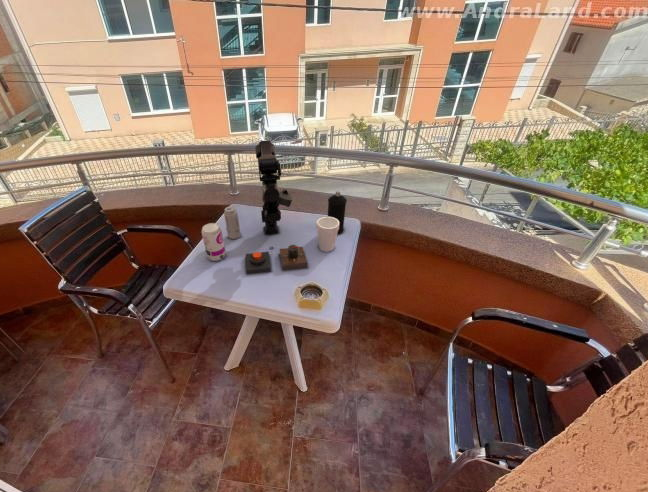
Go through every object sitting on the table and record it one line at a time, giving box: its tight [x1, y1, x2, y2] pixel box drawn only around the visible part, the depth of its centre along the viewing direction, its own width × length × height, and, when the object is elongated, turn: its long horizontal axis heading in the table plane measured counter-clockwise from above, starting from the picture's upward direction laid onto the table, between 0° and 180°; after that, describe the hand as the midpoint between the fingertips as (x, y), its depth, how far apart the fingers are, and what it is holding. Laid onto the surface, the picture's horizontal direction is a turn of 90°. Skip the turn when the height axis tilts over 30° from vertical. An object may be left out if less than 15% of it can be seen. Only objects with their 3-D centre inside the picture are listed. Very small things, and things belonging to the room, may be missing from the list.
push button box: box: [245, 251, 272, 275], centre depth 134 cm, size 11×10×4 cm
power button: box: [253, 251, 262, 260], centre depth 133 cm, size 4×4×2 cm
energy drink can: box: [223, 205, 241, 240], centre depth 148 cm, size 6×6×15 cm
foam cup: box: [316, 216, 339, 253], centre depth 138 cm, size 10×9×13 cm
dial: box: [287, 244, 299, 258], centre depth 133 cm, size 4×4×4 cm
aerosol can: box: [327, 190, 348, 235], centre depth 146 cm, size 8×8×20 cm
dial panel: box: [279, 246, 308, 271], centre depth 135 cm, size 11×10×3 cm
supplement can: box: [201, 222, 227, 262], centre depth 137 cm, size 8×8×15 cm
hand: (272, 223), depth 136 cm, fingers closed
